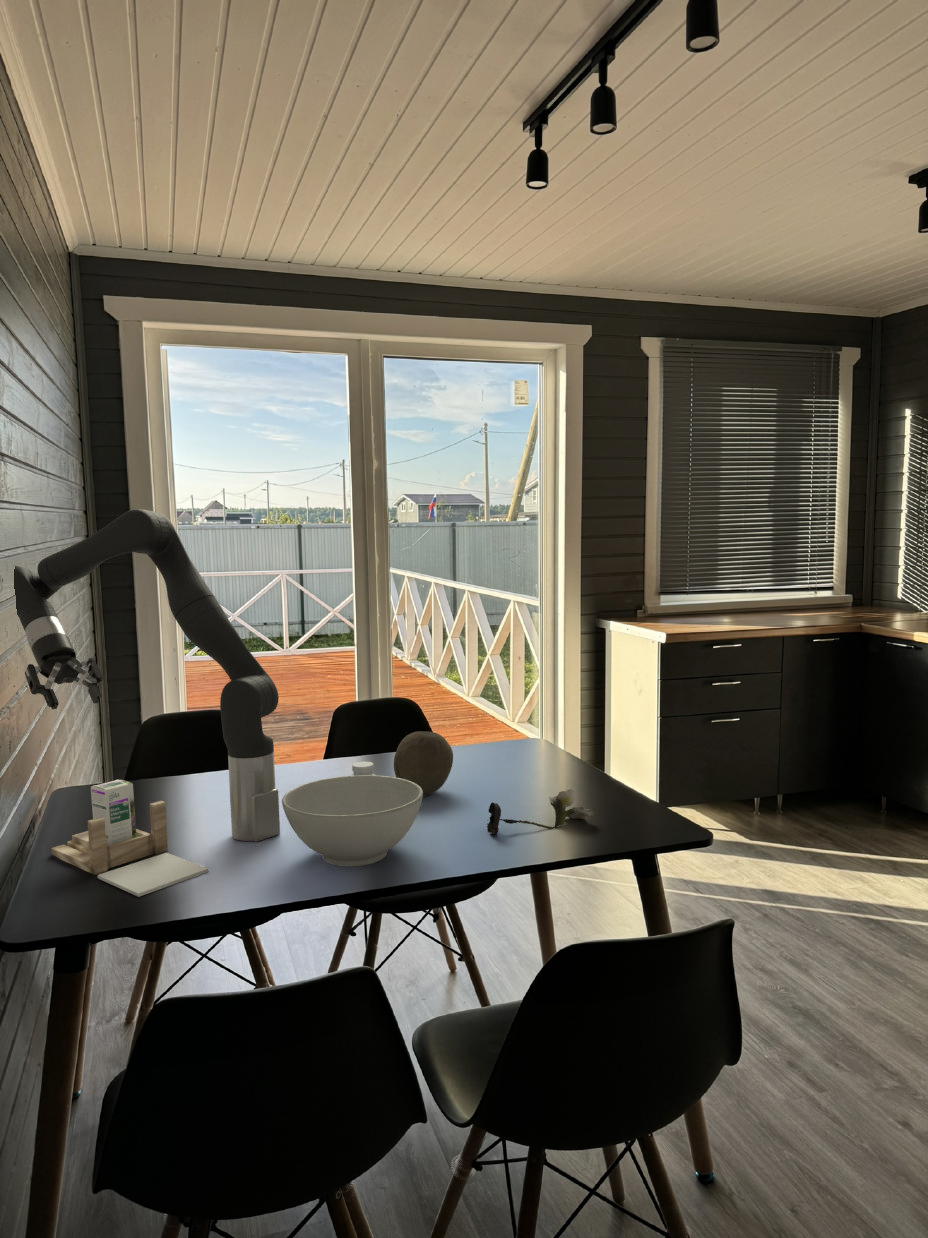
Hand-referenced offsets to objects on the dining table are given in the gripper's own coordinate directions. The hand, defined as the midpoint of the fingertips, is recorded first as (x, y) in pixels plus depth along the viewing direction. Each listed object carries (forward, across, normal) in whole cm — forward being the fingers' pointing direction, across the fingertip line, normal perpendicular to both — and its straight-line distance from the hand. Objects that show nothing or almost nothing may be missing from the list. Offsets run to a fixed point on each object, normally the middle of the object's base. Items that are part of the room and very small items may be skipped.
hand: (77, 704), depth 174 cm
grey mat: (+41, -1, -2) cm, 41 cm away
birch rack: (+29, 0, +11) cm, 31 cm away
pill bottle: (+44, +46, -6) cm, 65 cm away
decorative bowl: (+56, +29, -18) cm, 65 cm away
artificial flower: (+68, +63, -32) cm, 99 cm away
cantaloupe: (+44, +66, -6) cm, 80 cm away
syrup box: (+31, 0, +10) cm, 32 cm away
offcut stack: (+25, 0, +15) cm, 29 cm away
